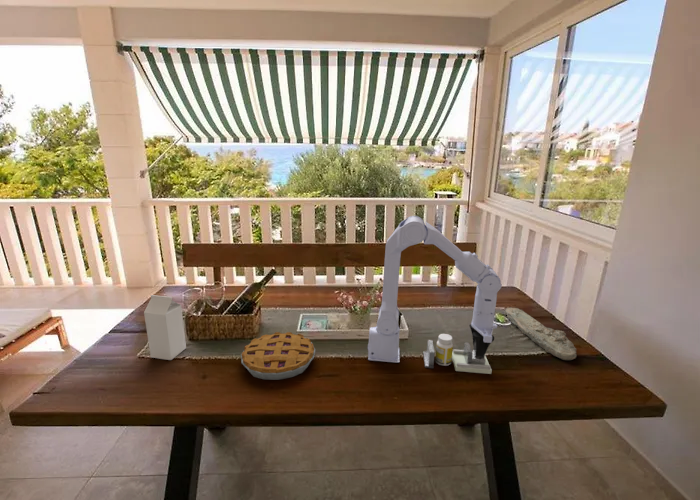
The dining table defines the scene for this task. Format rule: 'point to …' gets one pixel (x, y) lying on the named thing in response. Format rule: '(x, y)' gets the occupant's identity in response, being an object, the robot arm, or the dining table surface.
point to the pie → (278, 355)
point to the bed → (463, 366)
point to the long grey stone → (542, 334)
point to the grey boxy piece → (472, 355)
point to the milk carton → (164, 327)
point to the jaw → (429, 355)
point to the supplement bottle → (444, 350)
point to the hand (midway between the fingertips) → (478, 352)
